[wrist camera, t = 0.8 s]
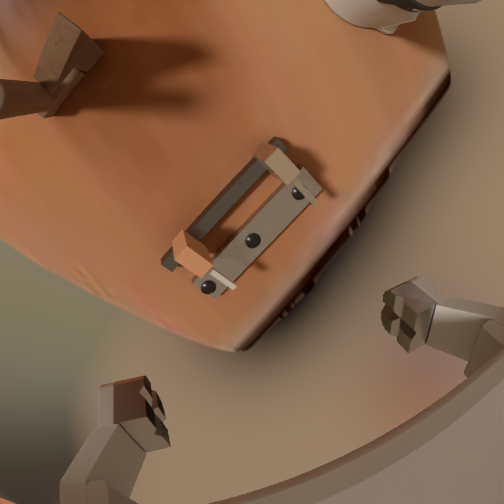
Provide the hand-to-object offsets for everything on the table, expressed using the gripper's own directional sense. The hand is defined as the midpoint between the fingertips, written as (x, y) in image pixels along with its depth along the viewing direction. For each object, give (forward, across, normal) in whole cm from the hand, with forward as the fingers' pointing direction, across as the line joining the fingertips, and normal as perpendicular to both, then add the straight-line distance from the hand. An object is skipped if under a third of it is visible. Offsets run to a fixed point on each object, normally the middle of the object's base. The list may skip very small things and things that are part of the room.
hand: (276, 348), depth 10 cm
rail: (+36, -6, +10) cm, 38 cm away
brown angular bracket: (+36, +11, -16) cm, 41 cm away
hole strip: (+36, -9, +14) cm, 39 cm away
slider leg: (+34, -1, +14) cm, 37 cm away
